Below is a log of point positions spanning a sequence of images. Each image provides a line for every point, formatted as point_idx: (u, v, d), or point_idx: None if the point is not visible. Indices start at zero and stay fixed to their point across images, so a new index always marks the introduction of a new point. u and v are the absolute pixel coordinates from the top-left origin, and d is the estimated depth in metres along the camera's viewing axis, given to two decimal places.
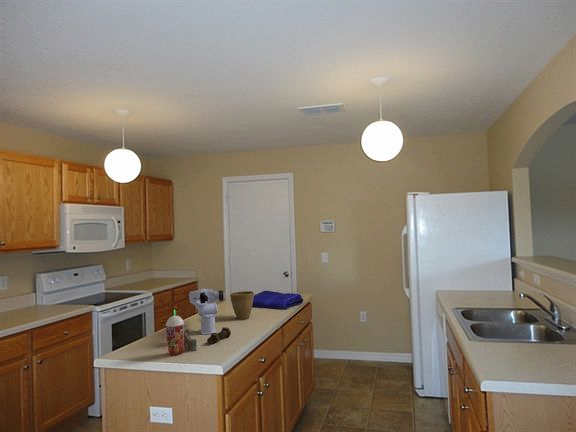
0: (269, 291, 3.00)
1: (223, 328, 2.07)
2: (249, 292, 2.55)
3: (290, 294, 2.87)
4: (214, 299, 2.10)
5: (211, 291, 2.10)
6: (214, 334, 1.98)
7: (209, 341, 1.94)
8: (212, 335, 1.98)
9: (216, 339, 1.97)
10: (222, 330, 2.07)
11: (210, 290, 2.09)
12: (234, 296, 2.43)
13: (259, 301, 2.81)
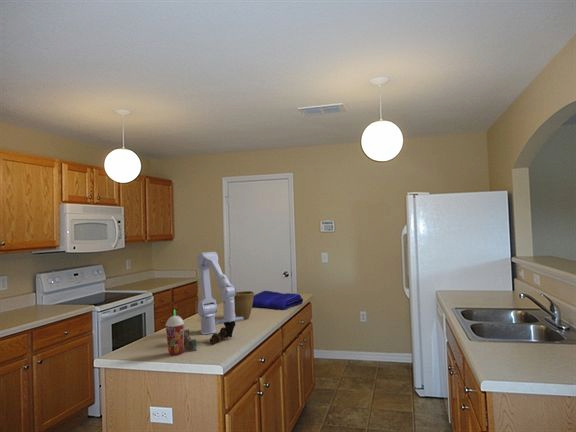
0: (269, 291, 2.99)
1: (222, 328, 2.07)
2: (249, 292, 2.55)
3: (290, 294, 2.86)
4: None
5: None
6: (216, 334, 1.98)
7: (212, 341, 1.94)
8: (214, 335, 1.98)
9: (218, 339, 1.97)
10: (221, 330, 2.08)
11: None
12: None
13: (258, 301, 2.81)
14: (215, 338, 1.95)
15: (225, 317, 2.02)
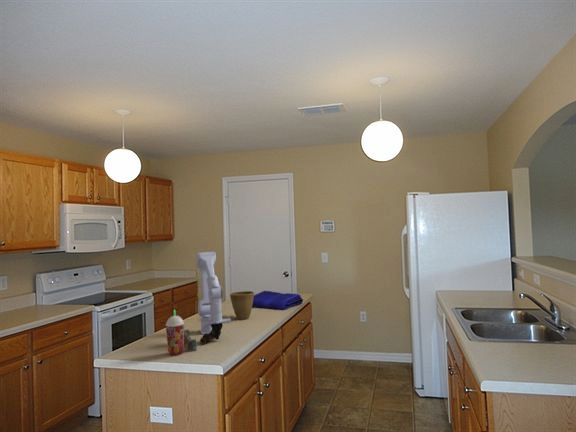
0: (269, 291, 2.99)
1: None
2: (249, 292, 2.55)
3: (289, 294, 2.85)
4: None
5: (218, 322, 1.99)
6: (207, 334, 1.99)
7: (202, 341, 1.95)
8: (204, 335, 1.99)
9: (209, 339, 1.98)
10: (212, 330, 2.08)
11: (217, 323, 1.98)
12: (234, 296, 2.43)
13: (258, 301, 2.80)
14: (206, 338, 1.96)
15: (212, 319, 1.99)
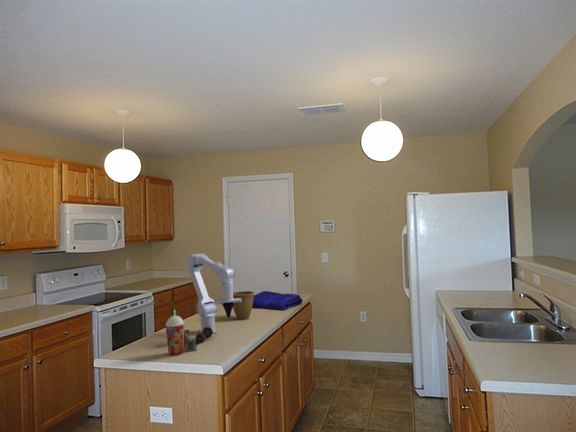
0: (268, 291, 2.98)
1: (205, 328, 2.09)
2: (249, 292, 2.55)
3: (289, 295, 2.84)
4: None
5: (229, 301, 2.07)
6: (200, 334, 1.99)
7: (197, 341, 1.96)
8: (198, 335, 1.99)
9: (202, 338, 1.99)
10: (204, 330, 2.09)
11: (229, 302, 2.06)
12: (234, 296, 2.43)
13: (258, 302, 2.79)
14: (200, 338, 1.97)
15: (223, 298, 2.07)
